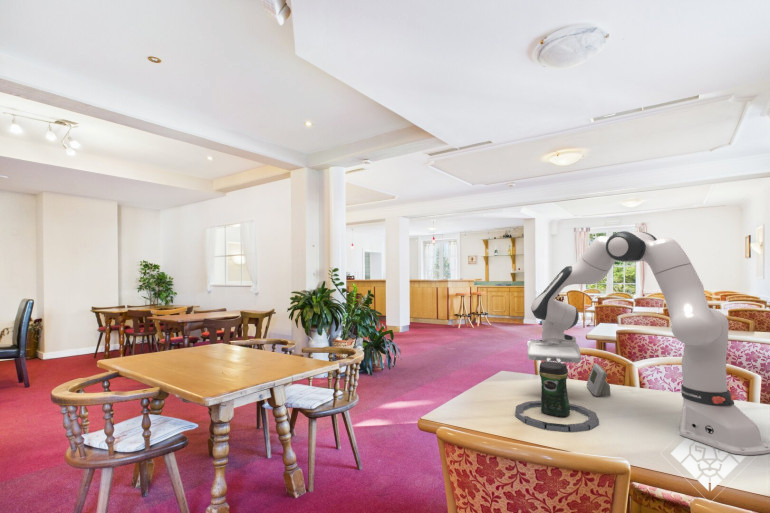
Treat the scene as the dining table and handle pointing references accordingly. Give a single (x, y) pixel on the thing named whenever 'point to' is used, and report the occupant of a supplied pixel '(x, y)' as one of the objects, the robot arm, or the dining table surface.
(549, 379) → the coffee jar
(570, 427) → the grey segmented ring
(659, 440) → the dining table surface
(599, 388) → the digital clock
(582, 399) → the dining table surface
